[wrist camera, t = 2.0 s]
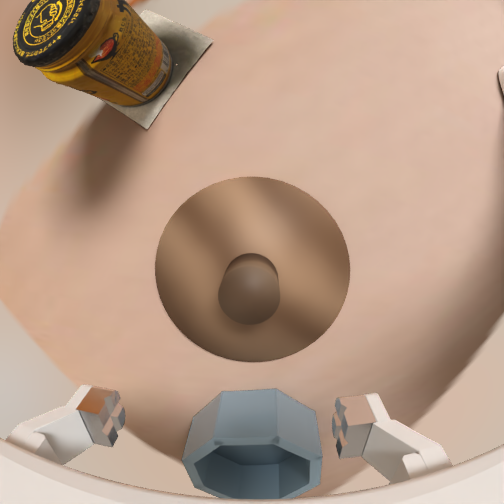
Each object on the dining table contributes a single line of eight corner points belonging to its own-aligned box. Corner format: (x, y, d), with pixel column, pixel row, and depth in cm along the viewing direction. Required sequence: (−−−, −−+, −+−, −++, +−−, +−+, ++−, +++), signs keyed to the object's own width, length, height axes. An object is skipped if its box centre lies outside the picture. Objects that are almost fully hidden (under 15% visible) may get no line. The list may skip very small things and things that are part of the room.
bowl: (245, 368, 26) (240, 415, 20) (338, 423, 27) (348, 467, 22) (176, 431, 28) (163, 472, 23) (262, 474, 30) (261, 512, 24)
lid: (236, 135, 21) (229, 127, 17) (383, 262, 23) (405, 280, 19) (127, 285, 25) (104, 305, 21) (264, 383, 27) (263, 415, 22)
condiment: (86, 90, 20) (-16, 57, 9) (146, 9, 18) (78, -67, 7) (148, 129, 21) (50, 102, 9) (214, 41, 19) (173, -52, 8)
